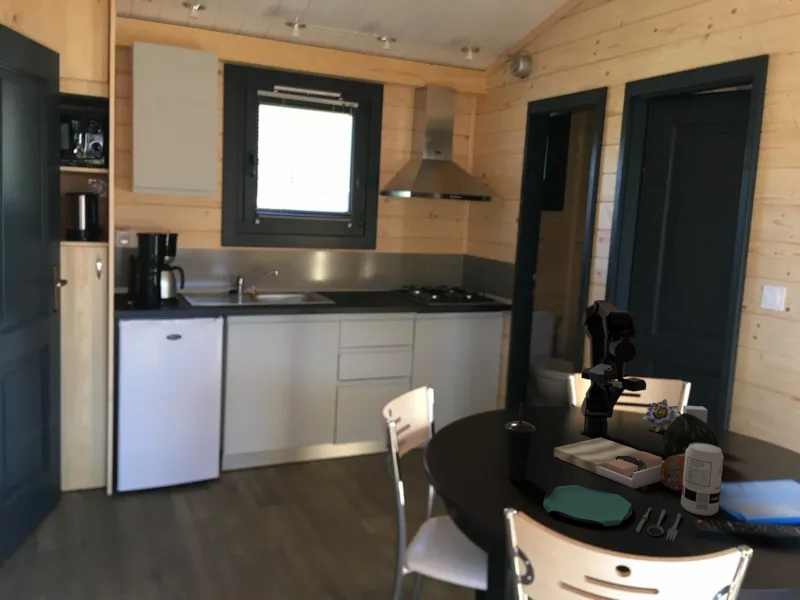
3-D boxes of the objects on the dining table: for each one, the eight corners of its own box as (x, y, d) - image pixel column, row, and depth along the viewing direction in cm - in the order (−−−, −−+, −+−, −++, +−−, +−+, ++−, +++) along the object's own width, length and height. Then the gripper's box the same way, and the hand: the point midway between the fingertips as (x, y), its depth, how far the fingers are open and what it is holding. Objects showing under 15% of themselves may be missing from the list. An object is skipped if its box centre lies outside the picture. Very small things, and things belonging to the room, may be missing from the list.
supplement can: (674, 502, 172) (679, 441, 170) (707, 502, 172) (713, 442, 171) (690, 516, 164) (696, 453, 162) (725, 516, 164) (731, 453, 162)
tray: (596, 473, 189) (597, 458, 188) (643, 460, 200) (644, 447, 200) (634, 488, 179) (635, 473, 179) (681, 474, 191) (682, 460, 190)
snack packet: (666, 492, 178) (669, 460, 177) (656, 488, 181) (659, 456, 180) (707, 484, 185) (710, 452, 184) (697, 479, 187) (700, 448, 186)
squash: (729, 442, 203) (694, 398, 205) (728, 459, 190) (691, 413, 192) (686, 466, 209) (653, 424, 211) (682, 485, 196) (647, 440, 198)
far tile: (628, 463, 196) (629, 454, 196) (642, 460, 199) (643, 451, 199) (647, 470, 191) (648, 461, 191) (661, 466, 195) (662, 457, 194)
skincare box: (700, 444, 217) (703, 406, 216) (704, 449, 213) (708, 410, 212) (679, 443, 218) (683, 405, 217) (683, 447, 214) (687, 408, 212)
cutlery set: (557, 487, 179) (558, 478, 179) (685, 517, 165) (686, 508, 164) (531, 515, 162) (532, 505, 161) (671, 552, 147) (672, 542, 147)
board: (553, 456, 201) (554, 447, 201) (600, 445, 213) (601, 437, 212) (596, 473, 189) (596, 464, 189) (643, 460, 200) (643, 452, 200)
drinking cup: (534, 475, 186) (539, 400, 183) (529, 485, 179) (534, 407, 176) (505, 470, 188) (509, 396, 186) (499, 480, 181) (503, 403, 179)
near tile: (604, 471, 189) (605, 462, 189) (618, 467, 192) (619, 458, 192) (623, 479, 184) (623, 469, 184) (637, 474, 188) (638, 465, 187)
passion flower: (656, 448, 230) (635, 416, 230) (661, 433, 239) (641, 403, 239) (688, 435, 223) (666, 402, 224) (692, 420, 233) (672, 389, 233)
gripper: (570, 351, 206) (566, 404, 208) (623, 363, 191) (619, 420, 193) (595, 348, 213) (592, 399, 215) (649, 360, 198) (645, 415, 199)
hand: (610, 408), depth 205 cm, fingers closed
